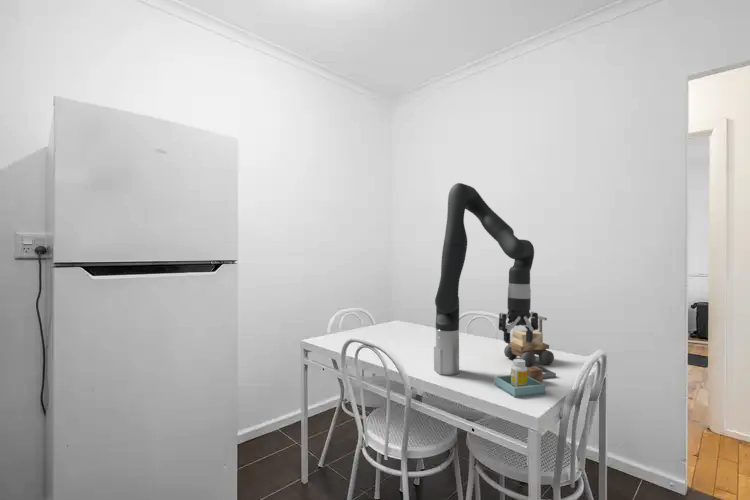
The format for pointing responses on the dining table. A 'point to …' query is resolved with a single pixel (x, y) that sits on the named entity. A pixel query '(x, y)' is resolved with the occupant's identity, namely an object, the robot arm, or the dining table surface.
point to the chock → (535, 373)
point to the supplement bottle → (518, 373)
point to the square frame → (547, 373)
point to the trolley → (529, 347)
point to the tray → (531, 388)
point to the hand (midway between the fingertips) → (518, 342)
